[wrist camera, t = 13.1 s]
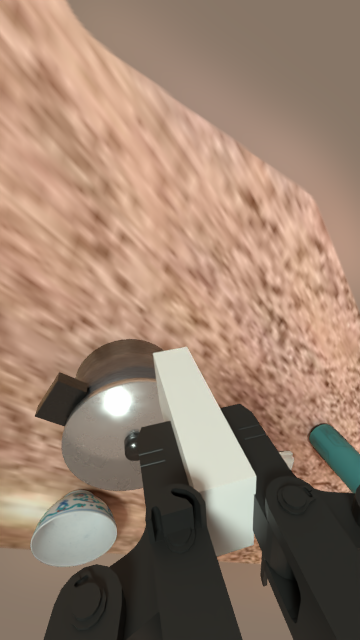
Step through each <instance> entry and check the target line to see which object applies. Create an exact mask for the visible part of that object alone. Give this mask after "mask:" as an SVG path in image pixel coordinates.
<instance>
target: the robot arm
mask: <svg viewBox="0 0 360 640" xmlns="http://www.w3.org/2000/svg"><path fill="white" fill-rule="evenodd" d="M153 359H154V366H155V374H156V381H157V389H158V396H159V404H160V408H161V412H162V415H163V419H164V422H162V423H158V424H153V425H149V426H145V427H141V430H140V433H139V436H138V438H137V445H138V452H139V460H140V467H141V474H142V482H143V489H144V497H145V504H146V519H145V521H146V528H145V531H144V533H143V535H142V538H141V540H140V541H139V542H138V544H137V545H136V546H135V548H134V549H132V550H131V551H130V552H129V553H128V554H127V555H125V556H124V557H123V558H121V559H120V560H118V561H117V562H116V563H114V564H113V565H111V566H110V567H107V566H102V565H97V564H96V565H92V566H89V567H85V568H83V569H82V570H80V571H79V572H77V573H76V574H74V575H73V576H72V577H71V578H70V579H69V580H68V582H67V583H66V584H65V585H64V587H63V588H62V589H61V591H60V594H59V595H58V598H57V600H56V602H55V604H54V607H53V610H52V614H51V617H50V620H49V624H48V627H47V630H46V634H45V637H44V640H242V637H241V633H240V630H239V627H238V624H237V621H236V617H235V614H234V611H233V608H232V605H231V601H230V598H229V595H228V592H227V589H226V585H225V582H224V579H223V576H222V573H221V570H220V566H219V563H218V560H217V557H218V556H221V555H224V554H227V553H230V552H233V551H236V550H239V549H242V548H245V547H249V546H252V545H254V534H255V537H256V539H257V541H258V543H259V546H260V548H261V550H262V561H261V580H262V584H263V586H266V585H267V579H268V580H269V583H270V585H271V587H272V590H273V592H274V595H275V597H276V599H277V602H278V604H279V606H280V609H281V611H282V613H283V616H284V618H285V621H286V623H287V625H288V628H289V630H290V632H291V635H292V637H293V640H360V485H359V486H358V487H357V489H356V492H355V493H337V492H325V491H320V490H317V489H314V488H313V487H312V486H311V485H310V484H308V483H306V482H305V481H303V480H301V479H299V478H297V477H296V476H295V475H294V474H293V473H292V471H291V470H290V468H289V467H288V465H287V464H286V462H285V461H284V459H283V458H282V456H281V455H280V454H279V452H278V451H277V449H276V448H275V446H274V445H273V443H272V442H271V440H270V439H269V437H268V436H267V435H266V433H265V431H264V430H263V428H262V427H261V426H260V425H259V422H258V421H257V419H256V418H255V416H254V415H253V413H252V412H251V411H249V410H248V409H246V408H245V407H244V406H242V405H241V404H237V405H232V406H228V407H224V408H220V407H219V406H218V404H217V402H216V400H215V398H214V396H213V394H212V393H211V391H210V389H209V387H208V385H207V383H206V381H205V380H204V378H203V376H202V374H201V372H200V370H199V368H198V367H197V365H196V363H195V361H194V359H193V357H192V355H191V354H190V352H189V350H188V348H187V347H183V348H178V349H173V350H167V351H162V352H156V353H153Z"/></svg>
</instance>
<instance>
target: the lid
mask: <svg viewBox="0 0 360 640" xmlns="http://www.w3.org/2000/svg"><path fill="white" fill-rule="evenodd" d="M162 422H164V419H163V415H162V412H161V408H160V404H159V396H158V389H157V381H156V379H152V378H130V379H124V380H119V381H116V382H113V383H110V384H107V385H105V386H103V387H100V388H99V389H97V390H95V391H93V392H92V393H90V394H89V395H88V396H86V397H85V398H84V399H83V400H82V401H81V402H80V403H79V404H78V405H77V406H76V407H75V408H74V410H73V411H72V412H71V414H70V416H69V417H68V419H67V421H66V424H65V427H64V431H63V437H62V454H63V458H64V460H65V463H66V465H67V466H68V468H69V469H70V471H71V472H72V473H73V474H74V475H75V476H76V477H77V478H79V479H80V480H82V481H83V482H85V483H87V484H89V485H91V486H94V487H97V488H100V489H105V490H113V491H126V490H135V489H140V488H143V482H142V474H141V467H140V460H139V452H138V445H137V438H138V436H139V433H140V430H141V427H145V426H149V425H153V424H158V423H162Z"/></svg>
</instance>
